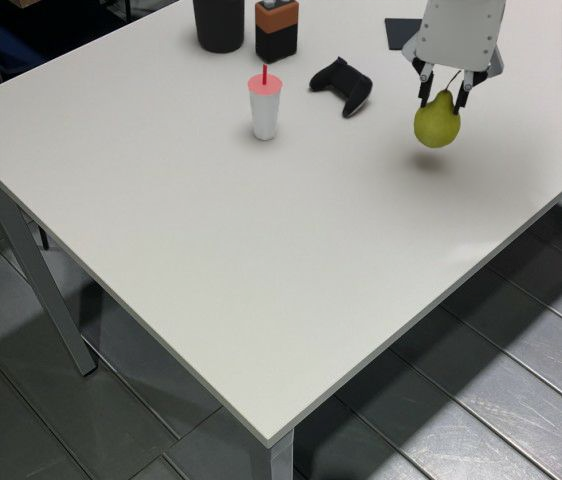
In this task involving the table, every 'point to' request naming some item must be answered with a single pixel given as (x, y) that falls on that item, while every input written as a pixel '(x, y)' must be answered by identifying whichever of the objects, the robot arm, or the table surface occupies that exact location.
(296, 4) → the battery
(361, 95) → the gaming controller
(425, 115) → the fruit
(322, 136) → the table surface
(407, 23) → the mat
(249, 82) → the cup
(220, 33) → the pen holder
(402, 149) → the table surface
